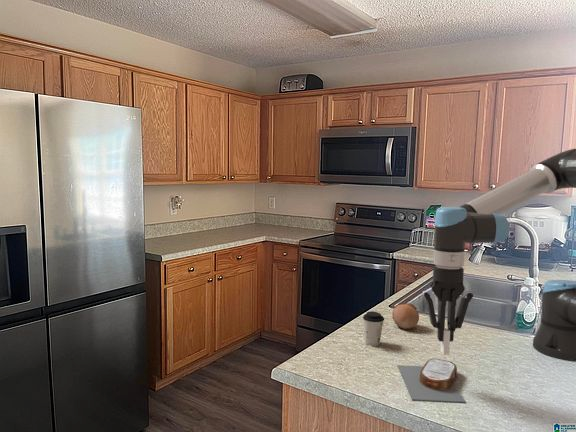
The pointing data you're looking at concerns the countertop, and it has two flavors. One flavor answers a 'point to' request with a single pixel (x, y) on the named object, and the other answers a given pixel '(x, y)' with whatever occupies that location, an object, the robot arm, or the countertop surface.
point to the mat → (425, 393)
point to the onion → (405, 316)
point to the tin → (438, 374)
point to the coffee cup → (373, 327)
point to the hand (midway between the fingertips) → (444, 352)
